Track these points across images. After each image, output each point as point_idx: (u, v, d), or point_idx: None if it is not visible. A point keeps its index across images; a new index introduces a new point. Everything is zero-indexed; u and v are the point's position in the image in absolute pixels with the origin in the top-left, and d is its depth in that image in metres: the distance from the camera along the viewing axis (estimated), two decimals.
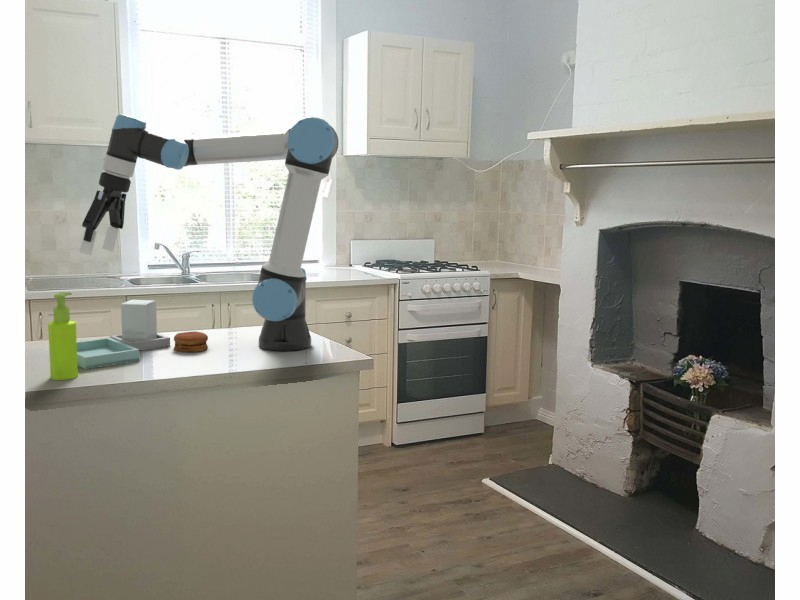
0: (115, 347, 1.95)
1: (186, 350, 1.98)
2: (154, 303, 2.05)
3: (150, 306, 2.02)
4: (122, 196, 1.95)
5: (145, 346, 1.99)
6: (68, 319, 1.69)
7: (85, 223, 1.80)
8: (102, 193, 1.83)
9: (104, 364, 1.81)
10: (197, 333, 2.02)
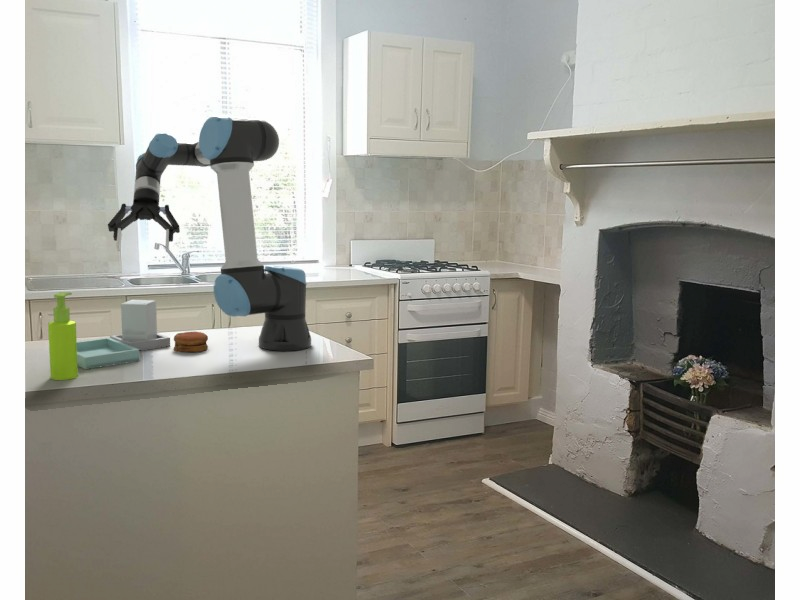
0: (115, 347, 1.95)
1: (186, 350, 1.98)
2: (154, 303, 2.05)
3: (150, 306, 2.02)
4: (164, 208, 2.21)
5: (145, 346, 1.99)
6: (68, 319, 1.69)
7: None
8: None
9: (104, 364, 1.81)
10: (197, 333, 2.02)
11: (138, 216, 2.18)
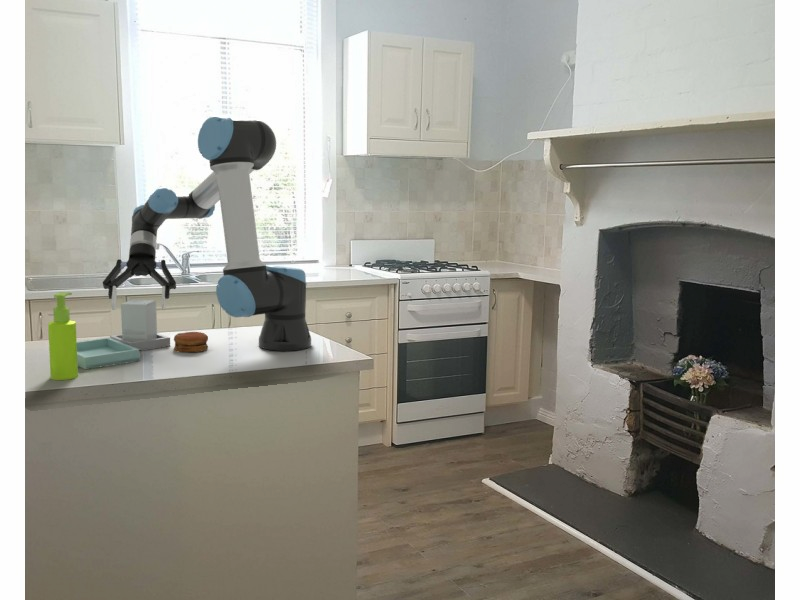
0: (115, 347, 1.95)
1: (186, 350, 1.98)
2: (154, 303, 2.05)
3: (150, 306, 2.02)
4: (161, 263, 2.16)
5: (145, 346, 1.99)
6: (68, 319, 1.69)
7: None
8: None
9: (104, 364, 1.81)
10: (197, 333, 2.02)
11: (134, 272, 2.13)
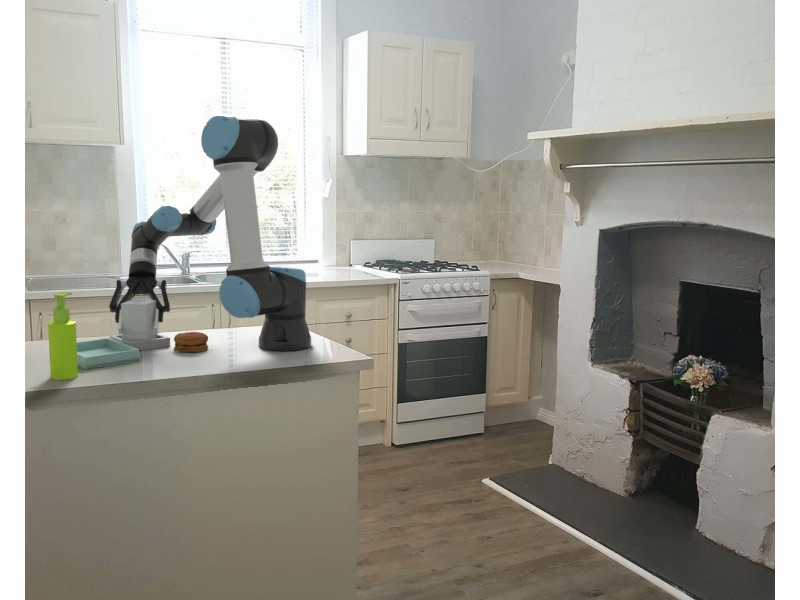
0: (115, 347, 1.95)
1: (186, 350, 1.98)
2: (154, 303, 2.05)
3: (151, 306, 2.02)
4: (161, 283, 2.10)
5: (145, 346, 1.99)
6: (68, 319, 1.69)
7: (110, 309, 2.03)
8: None
9: (104, 364, 1.81)
10: (197, 333, 2.02)
11: (134, 291, 2.07)
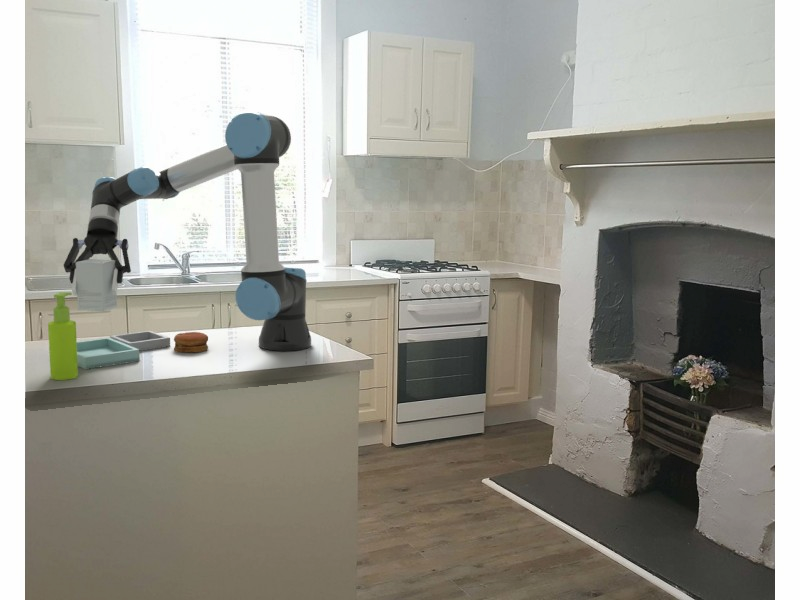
0: (115, 347, 1.95)
1: (186, 351, 1.98)
2: (113, 263, 1.88)
3: (108, 266, 1.86)
4: None
5: (145, 346, 1.99)
6: (68, 319, 1.69)
7: None
8: None
9: (104, 364, 1.81)
10: (197, 334, 2.02)
11: (92, 250, 1.91)
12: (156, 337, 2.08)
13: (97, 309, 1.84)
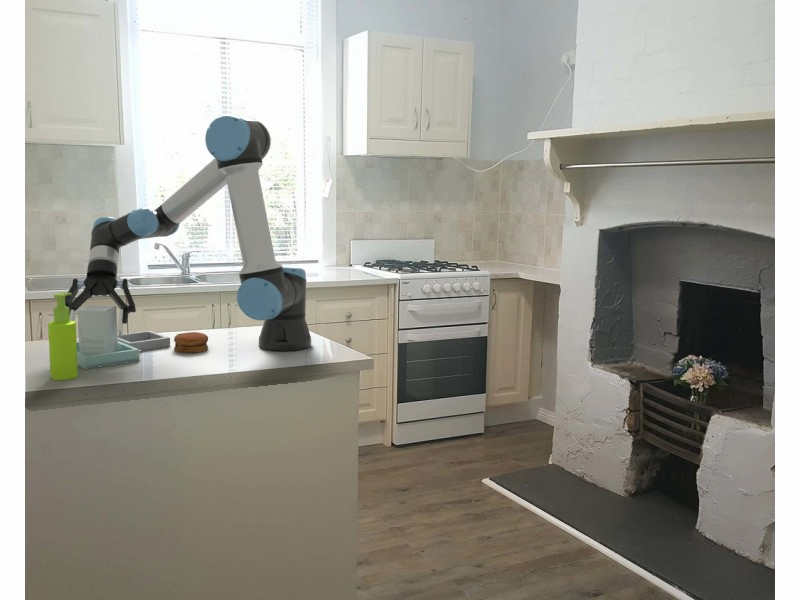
0: None
1: (186, 351, 1.97)
2: (114, 309, 1.89)
3: (110, 313, 1.87)
4: (122, 282, 1.95)
5: (145, 346, 1.99)
6: (68, 319, 1.69)
7: None
8: None
9: (104, 364, 1.81)
10: (197, 334, 2.01)
11: (92, 292, 1.92)
12: (156, 337, 2.08)
13: None
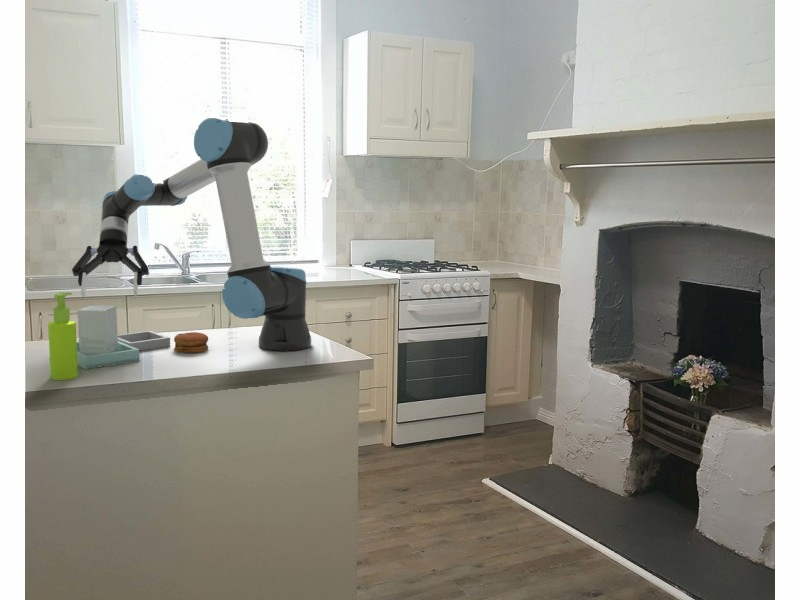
0: None
1: (186, 351, 1.97)
2: (114, 309, 1.89)
3: (110, 313, 1.87)
4: (133, 249, 2.10)
5: (145, 346, 1.99)
6: (68, 319, 1.69)
7: None
8: None
9: (104, 364, 1.81)
10: (197, 334, 2.01)
11: (104, 259, 2.07)
12: (156, 337, 2.08)
13: None
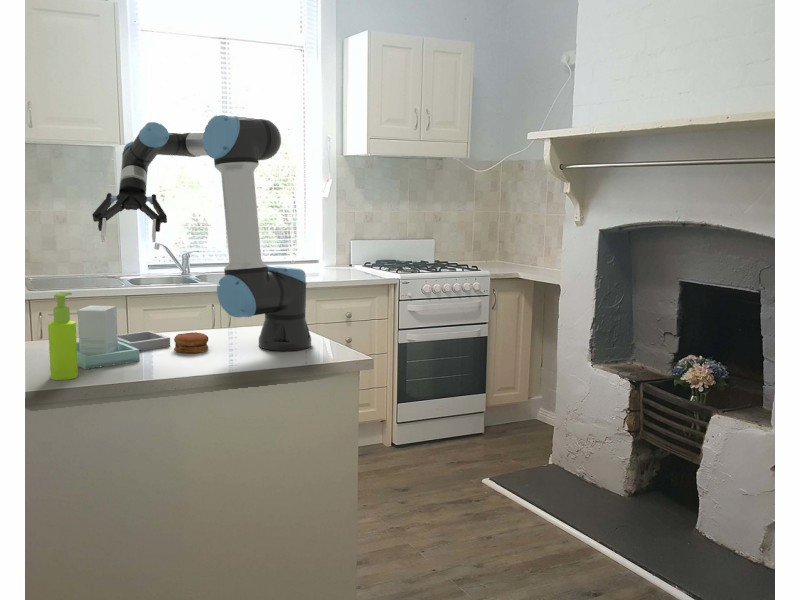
0: None
1: (186, 351, 1.97)
2: (114, 309, 1.89)
3: (110, 313, 1.87)
4: (151, 197, 2.15)
5: (145, 346, 1.99)
6: (68, 319, 1.69)
7: None
8: None
9: (104, 364, 1.81)
10: (198, 334, 2.01)
11: (124, 206, 2.11)
12: (156, 337, 2.08)
13: None
